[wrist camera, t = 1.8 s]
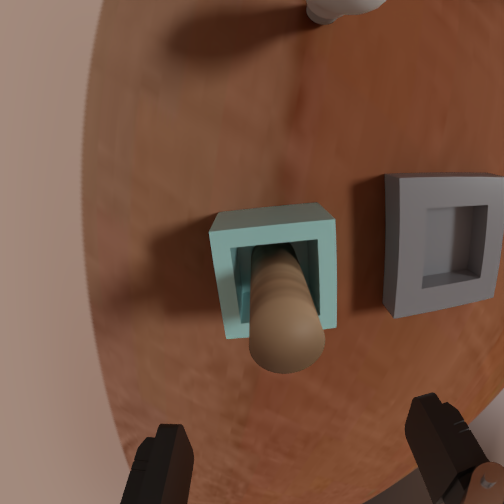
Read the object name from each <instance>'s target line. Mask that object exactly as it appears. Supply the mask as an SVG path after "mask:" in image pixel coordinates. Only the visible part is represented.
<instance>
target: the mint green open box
mask: <svg viewBox="0 0 504 504" xmlns="http://www.w3.org/2000/svg"><path fill="white" fill-rule="evenodd" d="M209 237H210V244H211V250H212V257H213V263H214V269H215V276H216V282H217V288H218V294H219V300H220V306H221V311H222V317H223V323H224V328H225V334H226V339H233V338H246V337H249V323H250V280H251V254H252V251H253V249H254V247H255V245H264V244H274V243H284V242H289V243H290V244H291V245H292V247H293V248H294V250H295V253H296V256H297V259H298V261H299V264H300V267H301V269H302V272H303V275H304V278H305V280H306V283H307V286H308V289H309V292H310V294H311V297H312V300H313V303H314V306H315V308H316V311H317V314H318V317H319V320H320V323H321V326H322V328H323V329H329V328H336V323H337V261H336V226H335V218H333V217H332V216H331V215H330V214H329V213H328V212H327V211H326V210H325V209H324V208H323V207H322V206H321V205H320V204H319V203H317V202H316V203H305V204H294V205H283V206H273V207H263V208H253V209H244V210H235V211H226V212H219V213H218V215H217V216H216V218H215V220H214V222H213V224H212V226H211V228H210V230H209Z"/></svg>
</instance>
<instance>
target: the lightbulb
mask: <svg viewBox="0 0 504 504" xmlns="http://www.w3.org/2000/svg"><path fill="white" fill-rule="evenodd" d="M385 1H386V0H306V2H307V8H306V12H307V15H308V17H309V18H310V19H311V20H312V21H314V22H315V23H318V24H322V25H327V24H330V23H332V22H334V21H335V20H336V19H337V18H339V17H341V16H343V15H358V14H363V13H367V12H369V11H372V10H374V9H377V8H378V7H379V6H380V5H382V4H383V3H384V2H385Z"/></svg>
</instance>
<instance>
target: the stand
mask: <svg viewBox="0 0 504 504" xmlns="http://www.w3.org/2000/svg"><path fill="white" fill-rule="evenodd" d="M385 209H386V232H385V268H384V287H383V302H382V303H383V304H384V306H385V307H386V308H387V310H388V311H389V313H390V314H391V315H392V317H393V318H400V317H405V316H411V315H416V314H421V313H426V312H431V311H436V310H441V309H446V308H450V307H455V306H459V305H464V304H468V303H472V302H477V301H481V300H485V299H489V298H493V296H494V291H495V286H496V281H497V275H498V269H499V263H500V256H501V248H502V240H503V231H504V176H499V175H495V174H490V173H397V174H385Z"/></svg>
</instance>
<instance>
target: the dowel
mask: <svg viewBox="0 0 504 504" xmlns="http://www.w3.org/2000/svg"><path fill="white" fill-rule="evenodd" d="M324 345H325V335H324V331H323V328H322V326H321V323H320V320H319V317H318V314H317V311H316V308H315V306H314V303H313V300H312V297H311V294H310V292H309V289H308V286H307V283H306V280H305V278H304V275H303V272H302V269H301V267H300V264H299V261H298V259H297V256H296V253H295V250H294V248H293V247H292V245H291V244H290V243H289V242H284V243H274V244H264V245H255V247H254V249H253V251H252V254H251V280H250V323H249V350H250V353H251V356H252V358H253V359H254V361H255V362H256V363H257V364H258V365H259V366H261V367H262V368H264V369H266V370H268V371H271V372H274V373H282V374H286V373H294V372H298V371H301V370H303V369H305V368H307V367H309V366H310V365H312V364H313V363H314V362H315V361H316V360H317V359H318V358H319V357H320V355H321V353H322V351H323V349H324Z"/></svg>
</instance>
